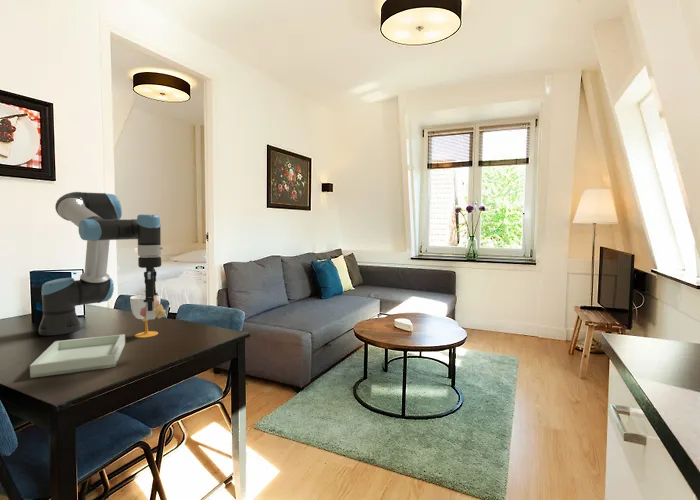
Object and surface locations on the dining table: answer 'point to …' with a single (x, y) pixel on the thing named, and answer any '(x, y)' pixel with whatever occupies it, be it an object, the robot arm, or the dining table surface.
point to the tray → (78, 355)
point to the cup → (136, 306)
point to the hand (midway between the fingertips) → (151, 315)
